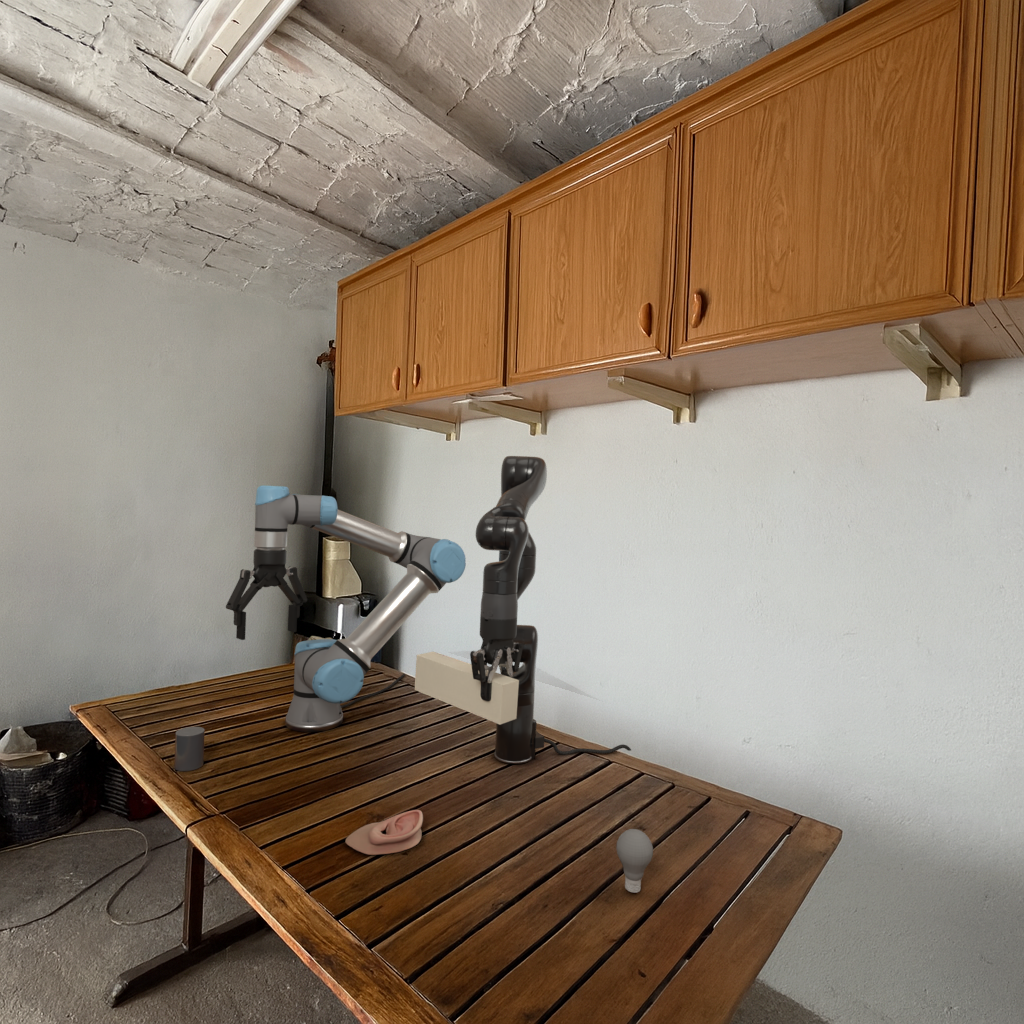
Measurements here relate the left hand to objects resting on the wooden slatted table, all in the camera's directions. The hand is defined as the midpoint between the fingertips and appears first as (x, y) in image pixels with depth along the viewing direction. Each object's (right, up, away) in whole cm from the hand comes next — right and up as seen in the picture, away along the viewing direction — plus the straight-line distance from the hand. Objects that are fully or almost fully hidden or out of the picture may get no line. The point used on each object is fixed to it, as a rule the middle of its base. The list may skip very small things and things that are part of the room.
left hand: (267, 635), depth 155 cm
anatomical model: (+36, -31, -37) cm, 61 cm away
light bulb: (+80, -33, -50) cm, 100 cm away
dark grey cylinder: (-14, -28, -9) cm, 33 cm away
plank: (+50, -11, -20) cm, 55 cm away
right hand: (+57, -8, -26) cm, 63 cm away
